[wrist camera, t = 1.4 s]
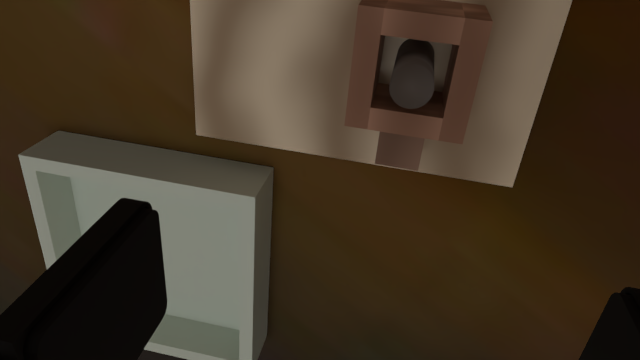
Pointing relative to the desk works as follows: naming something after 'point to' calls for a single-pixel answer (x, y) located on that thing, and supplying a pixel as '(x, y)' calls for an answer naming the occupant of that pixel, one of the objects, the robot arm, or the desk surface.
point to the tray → (169, 232)
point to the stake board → (396, 70)
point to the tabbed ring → (444, 107)
